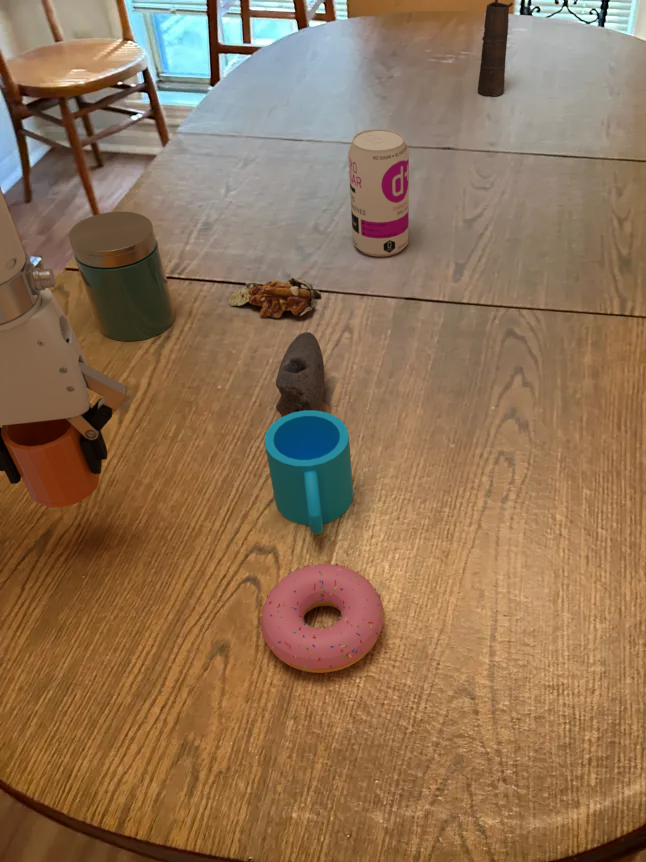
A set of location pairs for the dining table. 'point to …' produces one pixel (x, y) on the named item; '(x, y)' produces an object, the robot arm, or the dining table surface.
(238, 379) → the dining table surface
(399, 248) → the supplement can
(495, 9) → the butter churn
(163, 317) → the jar
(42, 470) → the cup
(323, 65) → the dining table surface
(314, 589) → the doughnut
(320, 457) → the mug
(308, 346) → the perforated stone tool
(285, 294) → the brown lumpy piece
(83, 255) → the jar lid
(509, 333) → the dining table surface
